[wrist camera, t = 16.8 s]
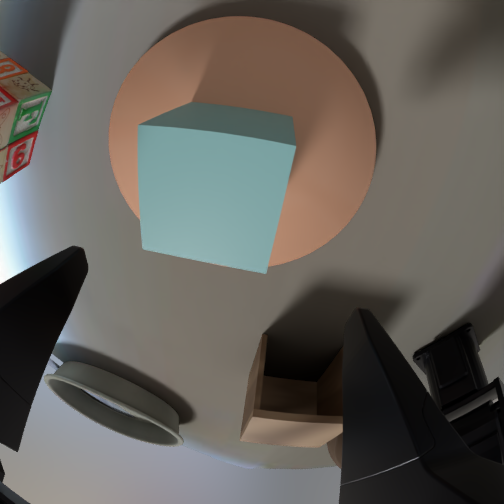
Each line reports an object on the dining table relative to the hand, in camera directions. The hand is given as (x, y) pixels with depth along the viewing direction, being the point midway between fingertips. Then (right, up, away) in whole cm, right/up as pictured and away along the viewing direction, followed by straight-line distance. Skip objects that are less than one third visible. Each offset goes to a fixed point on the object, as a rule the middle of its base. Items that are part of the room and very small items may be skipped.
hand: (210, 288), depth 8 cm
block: (0, +5, +4) cm, 7 cm away
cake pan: (-21, -22, +30) cm, 43 cm away
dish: (0, +6, +5) cm, 8 cm away
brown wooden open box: (+5, -9, +15) cm, 18 cm away
